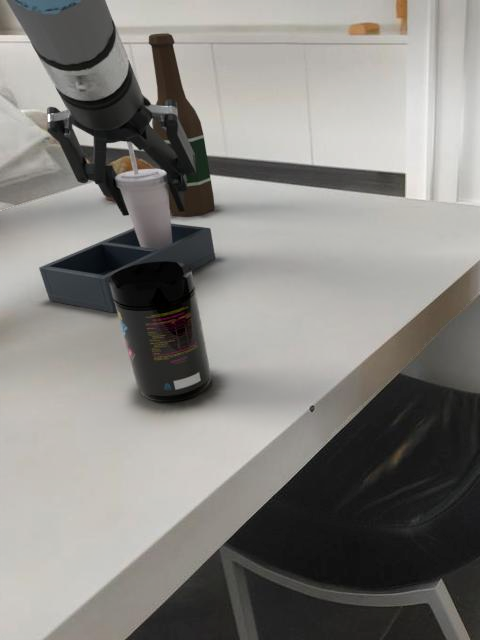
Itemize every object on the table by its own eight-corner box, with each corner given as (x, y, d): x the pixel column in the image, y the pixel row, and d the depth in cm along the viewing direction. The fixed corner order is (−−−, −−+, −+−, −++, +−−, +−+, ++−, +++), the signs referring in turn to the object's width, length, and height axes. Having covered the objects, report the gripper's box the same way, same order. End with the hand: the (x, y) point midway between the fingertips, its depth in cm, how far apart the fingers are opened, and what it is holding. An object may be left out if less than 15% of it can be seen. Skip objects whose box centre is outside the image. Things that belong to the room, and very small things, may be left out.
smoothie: (130, 251, 90) (101, 134, 82) (178, 243, 92) (155, 128, 83) (137, 266, 85) (107, 142, 77) (188, 257, 87) (165, 136, 79)
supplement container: (187, 362, 66) (164, 255, 60) (227, 384, 62) (207, 272, 56) (124, 388, 63) (93, 277, 57) (163, 413, 59) (134, 297, 53)
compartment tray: (49, 300, 81) (38, 267, 79) (156, 250, 95) (150, 220, 93) (114, 312, 77) (104, 278, 75) (215, 258, 91) (210, 227, 89)
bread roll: (151, 206, 127) (130, 163, 125) (180, 187, 120) (158, 140, 118) (107, 220, 121) (84, 174, 118) (135, 200, 114) (111, 151, 111)
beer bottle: (182, 220, 106) (147, 37, 92) (159, 211, 111) (122, 35, 97) (225, 209, 110) (198, 32, 96) (200, 201, 115) (171, 31, 101)
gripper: (-13, 112, 64) (78, 236, 87) (195, 99, 65) (231, 225, 88) (-14, 41, 65) (76, 182, 88) (190, 30, 66) (227, 172, 89)
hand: (153, 203), depth 88 cm, fingers closed on smoothie, 6 cm apart
